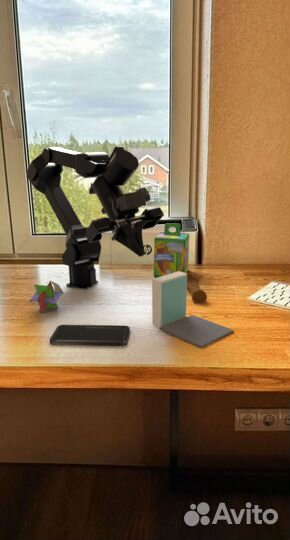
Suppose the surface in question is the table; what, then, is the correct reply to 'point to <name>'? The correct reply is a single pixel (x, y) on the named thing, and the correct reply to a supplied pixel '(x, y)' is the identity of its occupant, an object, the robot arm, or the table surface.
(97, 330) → the phone
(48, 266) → the table surface
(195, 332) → the mat
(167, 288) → the cream flat block
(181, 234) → the chalk box
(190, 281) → the primitive tool
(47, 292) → the geometric puzzle
